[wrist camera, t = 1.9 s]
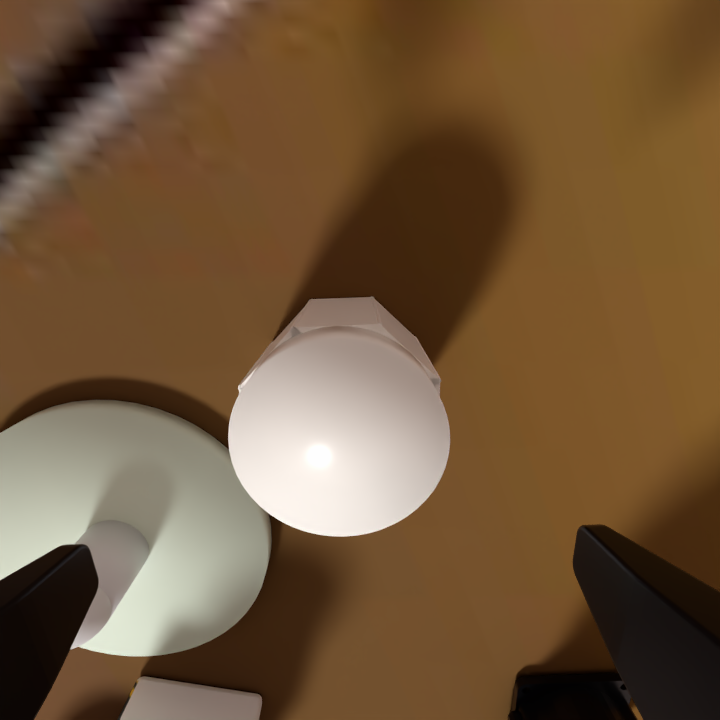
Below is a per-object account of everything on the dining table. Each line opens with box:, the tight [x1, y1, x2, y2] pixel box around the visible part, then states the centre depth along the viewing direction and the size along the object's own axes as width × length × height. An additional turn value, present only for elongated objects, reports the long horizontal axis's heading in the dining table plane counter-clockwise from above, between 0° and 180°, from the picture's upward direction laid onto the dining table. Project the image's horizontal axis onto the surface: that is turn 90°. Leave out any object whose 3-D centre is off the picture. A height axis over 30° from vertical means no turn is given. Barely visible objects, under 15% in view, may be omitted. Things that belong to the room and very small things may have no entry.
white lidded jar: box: [228, 296, 450, 536], centre depth 14 cm, size 6×6×6 cm
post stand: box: [0, 400, 272, 656], centre depth 17 cm, size 14×14×6 cm
